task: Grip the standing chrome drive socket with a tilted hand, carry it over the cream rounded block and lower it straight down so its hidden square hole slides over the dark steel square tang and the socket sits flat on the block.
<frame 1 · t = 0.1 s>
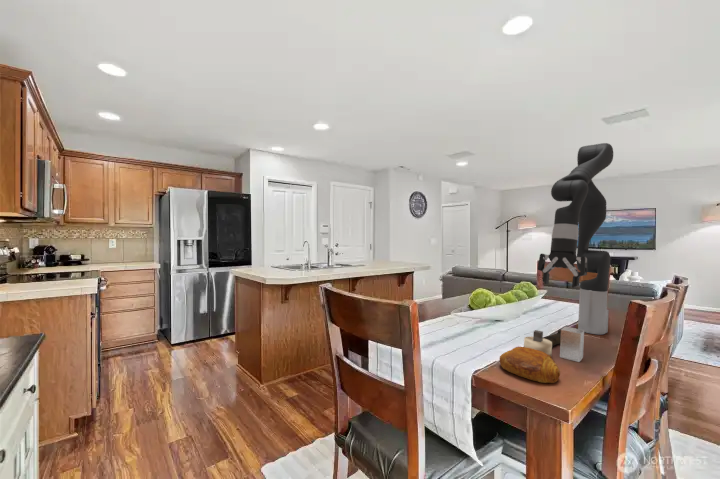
hand: (559, 285, 111), 22 cm above the table, tool pointing down, fingers open, 8 cm apart
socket: (571, 357, 106), on the table
cream rounded block: (537, 355, 107), on the table
croissant: (530, 373, 95), on the table
hand tool: (553, 344, 119), on the table
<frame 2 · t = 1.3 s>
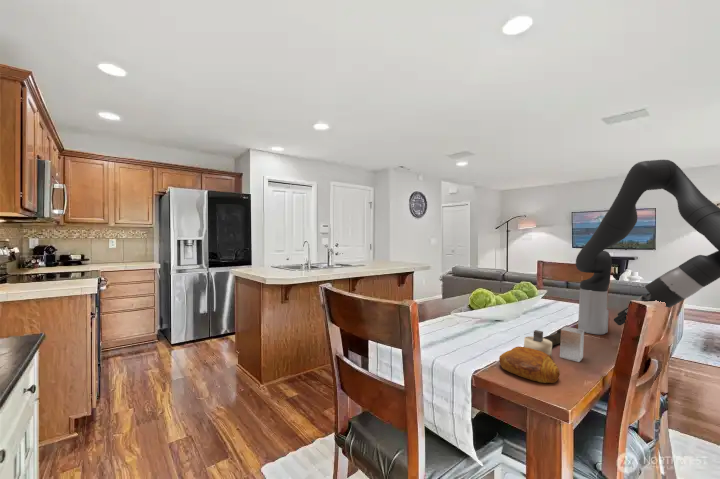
hand: (618, 319, 98), 15 cm above the table, tool tilted 45°, fingers open, 8 cm apart
nothing on the table moved.
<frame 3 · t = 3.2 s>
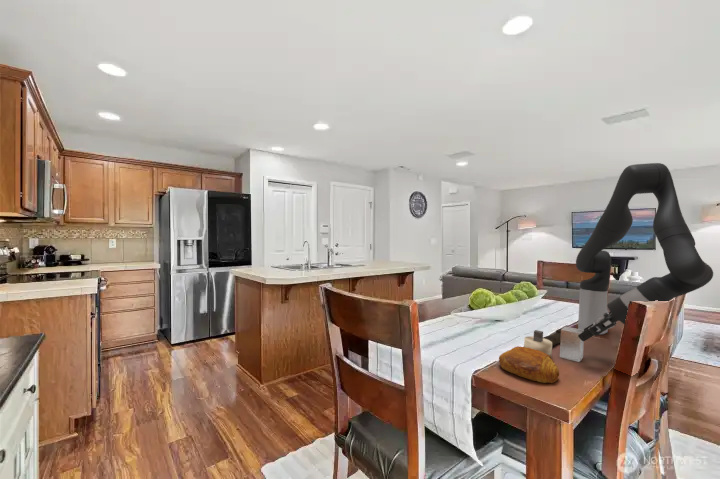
hand: (583, 335, 104), 8 cm above the table, tool tilted 45°, fingers open, 8 cm apart
nothing on the table moved.
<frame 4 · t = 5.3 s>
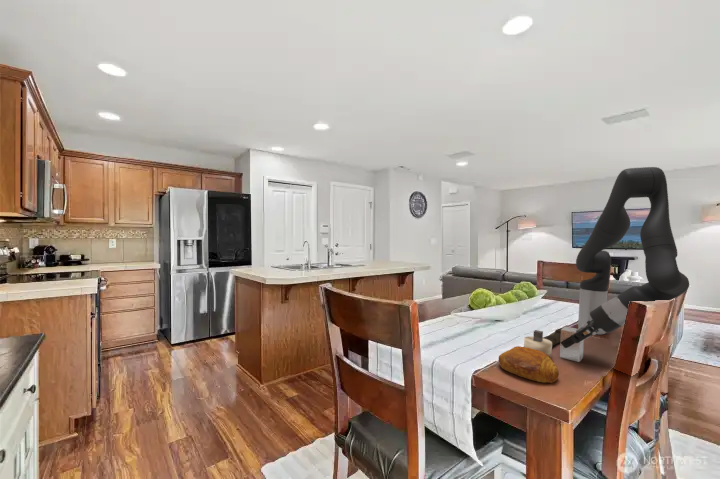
hand: (565, 343, 107), 4 cm above the table, tool tilted 45°, fingers closed on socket, 5 cm apart
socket: (571, 357, 106), on the table, touching gripper
everything else where it was.
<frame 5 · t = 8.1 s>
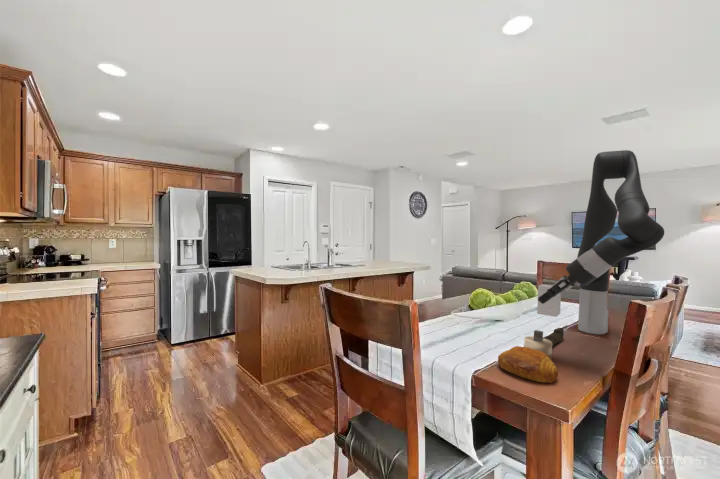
hand: (542, 299, 107), 18 cm above the table, tool tilted 45°, fingers closed on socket, 5 cm apart
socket: (548, 313, 106), point 14 cm above the table, touching gripper
everything else where it was.
when the fingers open (11 cm above the table, at t = 11.2 s): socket drops 1 cm, resting on cream rounded block.
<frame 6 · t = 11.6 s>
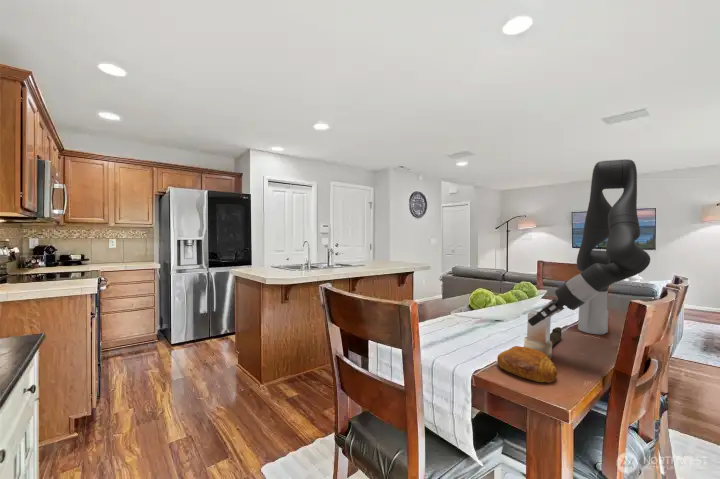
hand: (534, 320, 108), 11 cm above the table, tool tilted 45°, fingers open, 8 cm apart
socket: (538, 340, 107), point 5 cm above the table, touching cream rounded block
cream rounded block: (537, 355, 107), on the table, touching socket
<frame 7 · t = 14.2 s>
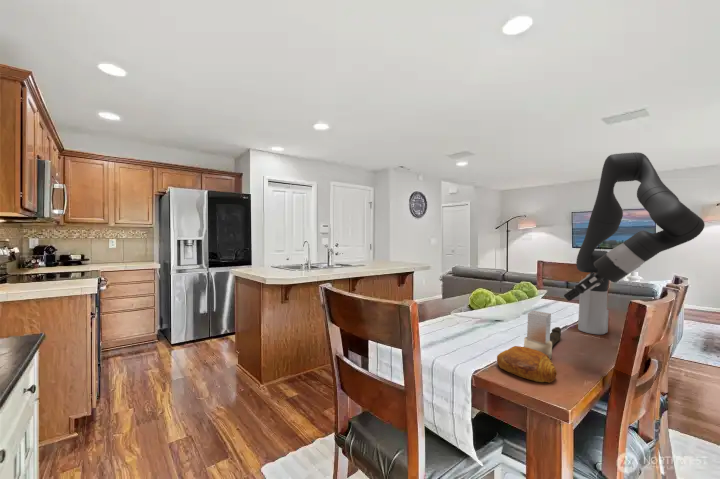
hand: (569, 296, 101), 21 cm above the table, tool tilted 45°, fingers open, 8 cm apart
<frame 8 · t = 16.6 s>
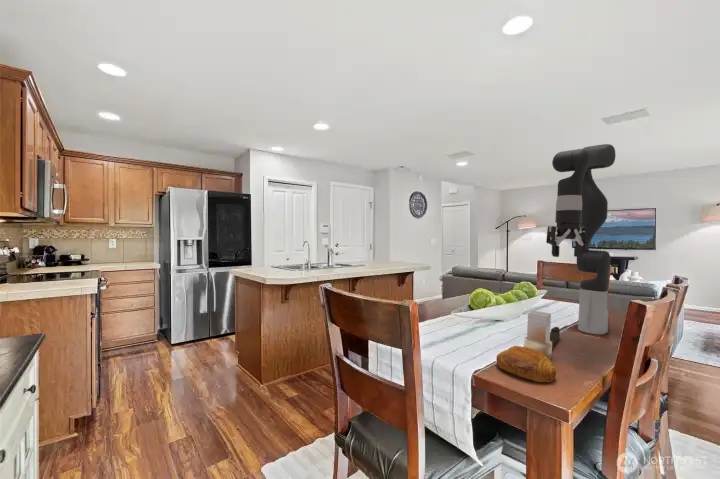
hand: (566, 256, 112), 32 cm above the table, tool pointing down, fingers open, 8 cm apart
at the end: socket 0.2 cm off-centre on the cream rounded block, point 5.0 cm above the cream rounded block's base; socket tilted 0°; the gripper is holding nothing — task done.
